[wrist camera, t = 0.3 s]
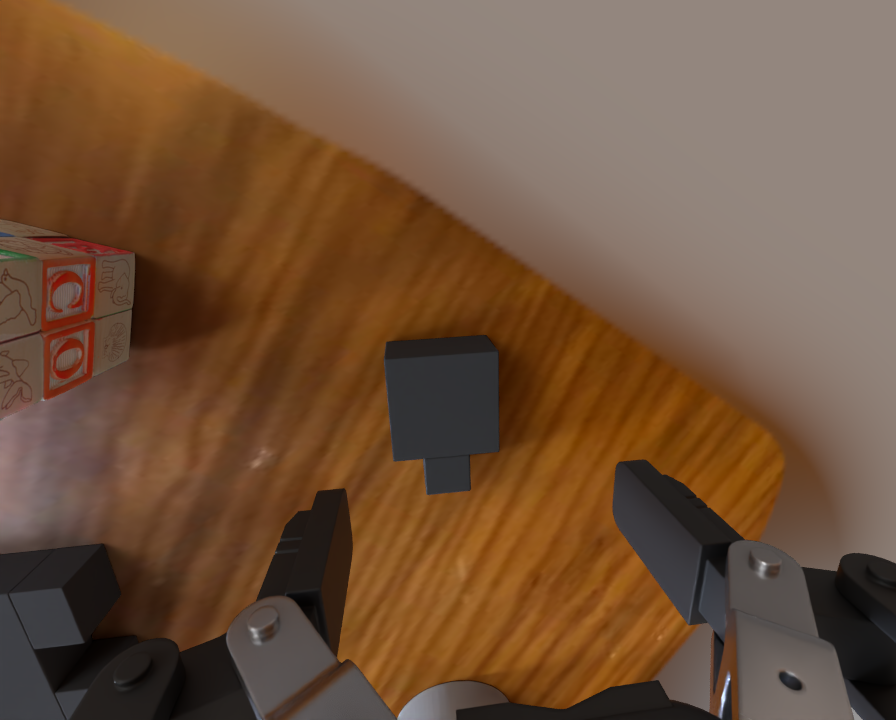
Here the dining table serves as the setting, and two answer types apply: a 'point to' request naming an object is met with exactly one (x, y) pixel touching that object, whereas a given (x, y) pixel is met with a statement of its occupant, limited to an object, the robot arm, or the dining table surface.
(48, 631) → the notch pad
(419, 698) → the coffee mug
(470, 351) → the pad
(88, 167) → the dining table surface
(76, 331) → the stack of blocks
